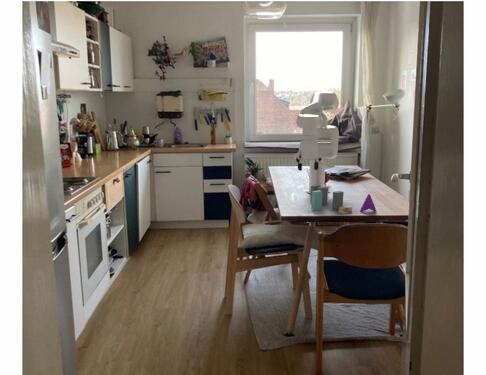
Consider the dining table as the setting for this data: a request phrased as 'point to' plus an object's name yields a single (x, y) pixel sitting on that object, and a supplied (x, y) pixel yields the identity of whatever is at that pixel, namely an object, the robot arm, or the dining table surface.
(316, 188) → the tile
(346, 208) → the stop block
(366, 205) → the arrowhead
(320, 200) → the teal tile
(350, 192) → the dining table surface
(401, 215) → the dining table surface
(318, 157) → the robot arm
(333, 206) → the tile
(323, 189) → the tile
